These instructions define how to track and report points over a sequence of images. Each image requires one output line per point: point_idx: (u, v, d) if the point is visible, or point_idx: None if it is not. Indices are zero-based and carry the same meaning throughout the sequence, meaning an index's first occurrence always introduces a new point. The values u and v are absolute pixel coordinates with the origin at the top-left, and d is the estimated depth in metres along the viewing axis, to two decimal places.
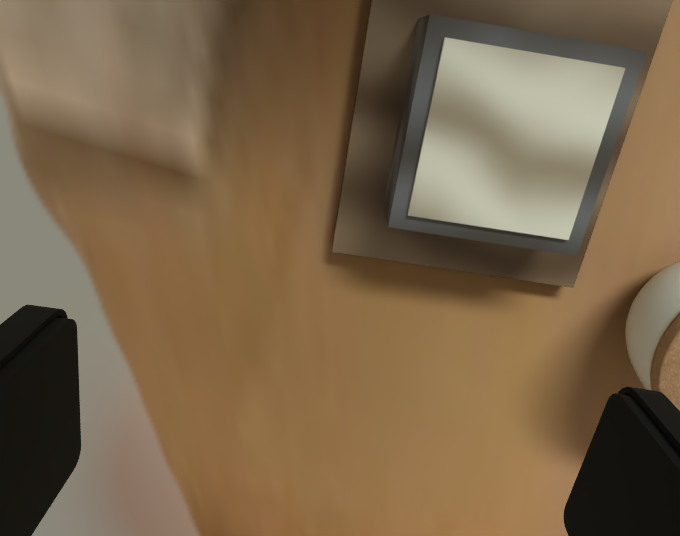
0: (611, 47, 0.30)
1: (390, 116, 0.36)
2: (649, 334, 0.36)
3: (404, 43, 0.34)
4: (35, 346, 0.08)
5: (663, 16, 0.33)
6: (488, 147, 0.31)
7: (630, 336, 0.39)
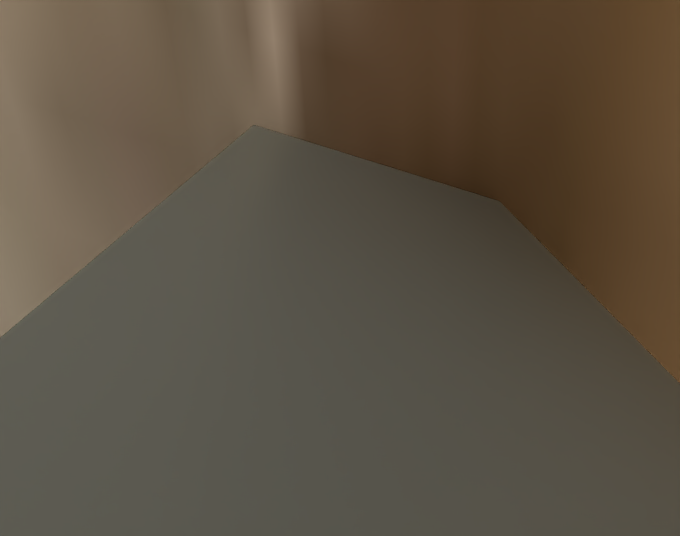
0: None
1: None
2: None
3: None
4: None
5: None
6: None
7: None
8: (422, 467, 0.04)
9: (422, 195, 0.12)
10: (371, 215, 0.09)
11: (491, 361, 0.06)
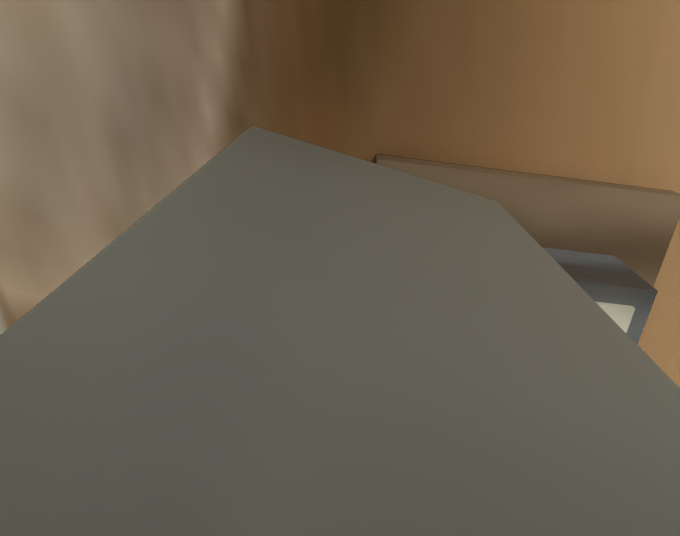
0: (619, 288, 0.28)
1: None
2: None
3: None
4: None
5: (672, 223, 0.32)
6: None
7: None
8: (416, 468, 0.04)
9: (420, 196, 0.12)
10: (368, 215, 0.09)
11: (487, 362, 0.06)
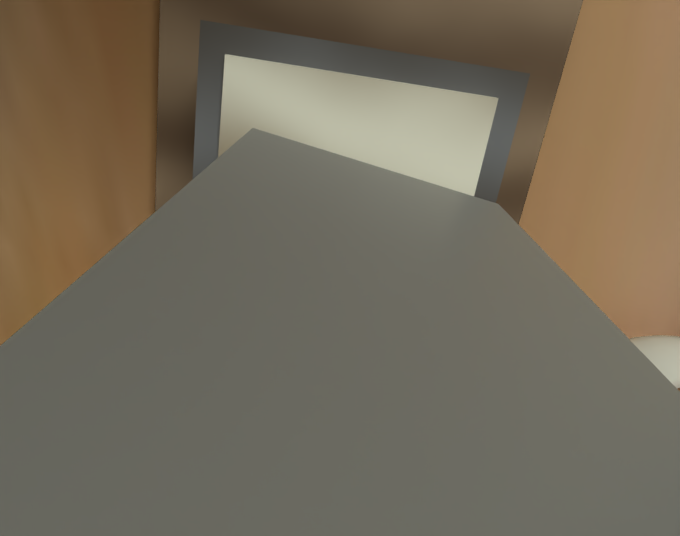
0: (476, 67, 0.20)
1: None
2: None
3: None
4: None
5: (572, 20, 0.24)
6: None
7: None
8: (418, 477, 0.04)
9: (421, 198, 0.12)
10: (369, 219, 0.09)
11: (489, 369, 0.06)
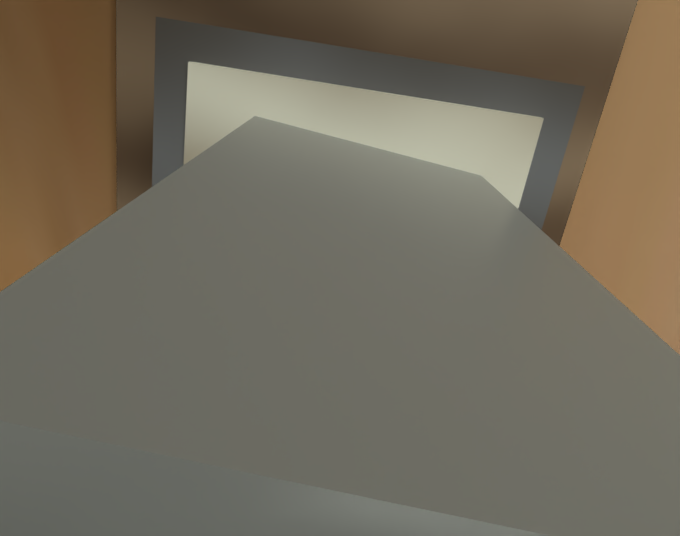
0: (515, 79, 0.15)
1: None
2: None
3: None
4: None
5: (625, 18, 0.19)
6: None
7: None
8: (383, 322, 0.05)
9: (408, 169, 0.14)
10: (358, 181, 0.11)
11: (450, 273, 0.07)
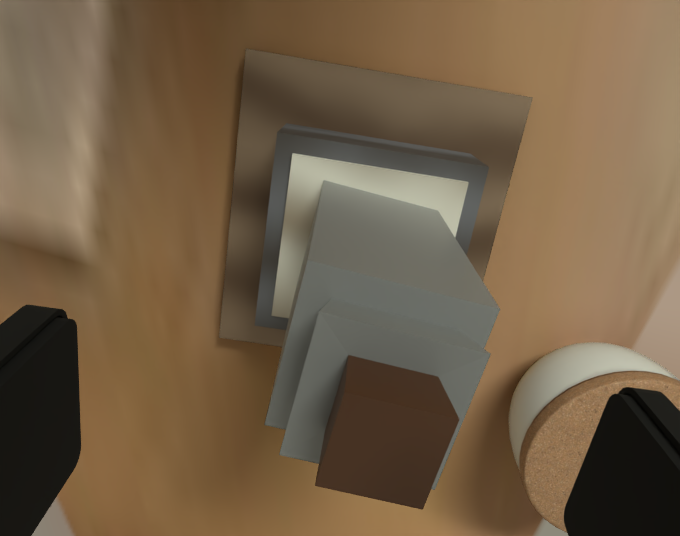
0: (454, 163, 0.31)
1: (266, 212, 0.37)
2: (519, 427, 0.37)
3: (275, 145, 0.35)
4: (35, 346, 0.08)
5: (522, 122, 0.35)
6: None
7: (509, 424, 0.39)
8: (390, 259, 0.20)
9: (400, 209, 0.29)
10: (378, 217, 0.26)
11: (411, 250, 0.22)
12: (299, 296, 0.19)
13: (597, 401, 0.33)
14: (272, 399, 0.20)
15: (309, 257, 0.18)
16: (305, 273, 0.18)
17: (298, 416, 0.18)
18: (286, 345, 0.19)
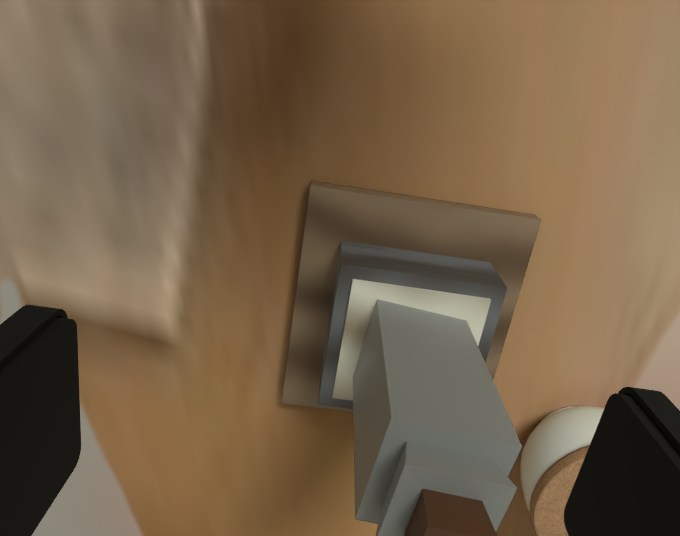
0: (480, 285, 0.39)
1: (323, 307, 0.45)
2: (529, 479, 0.45)
3: (331, 257, 0.44)
4: (35, 346, 0.08)
5: (532, 239, 0.43)
6: None
7: (520, 473, 0.48)
8: (443, 402, 0.29)
9: (438, 327, 0.37)
10: (425, 344, 0.35)
11: (455, 386, 0.31)
12: (384, 439, 0.27)
13: None
14: (361, 503, 0.29)
15: (391, 414, 0.27)
16: (389, 426, 0.27)
17: (387, 525, 0.26)
18: (373, 469, 0.28)
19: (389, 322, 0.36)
